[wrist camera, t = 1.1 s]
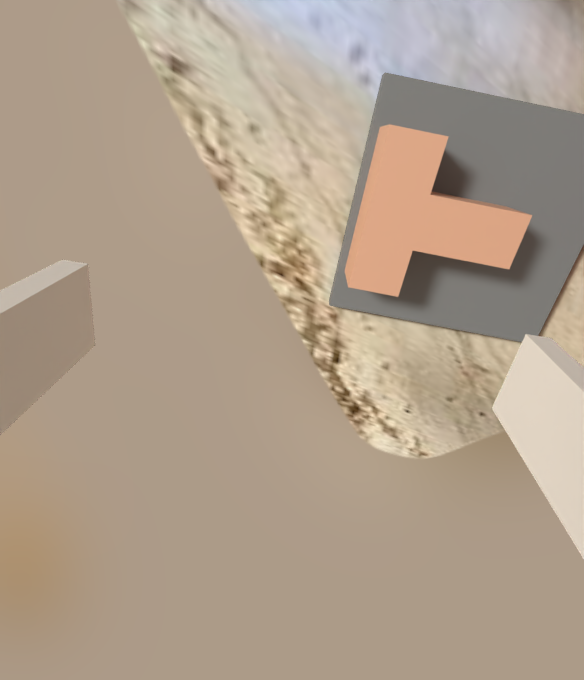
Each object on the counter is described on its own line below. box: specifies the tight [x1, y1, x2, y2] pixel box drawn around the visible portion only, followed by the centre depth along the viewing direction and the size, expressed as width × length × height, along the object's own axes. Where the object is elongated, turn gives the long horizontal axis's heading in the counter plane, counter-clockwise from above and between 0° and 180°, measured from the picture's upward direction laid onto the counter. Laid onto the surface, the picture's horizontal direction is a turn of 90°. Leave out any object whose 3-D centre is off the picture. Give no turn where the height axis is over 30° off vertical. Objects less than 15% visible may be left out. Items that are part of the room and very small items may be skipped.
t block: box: [345, 124, 532, 297], centre depth 28 cm, size 10×10×4 cm
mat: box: [329, 73, 584, 342], centre depth 30 cm, size 16×17×1 cm
